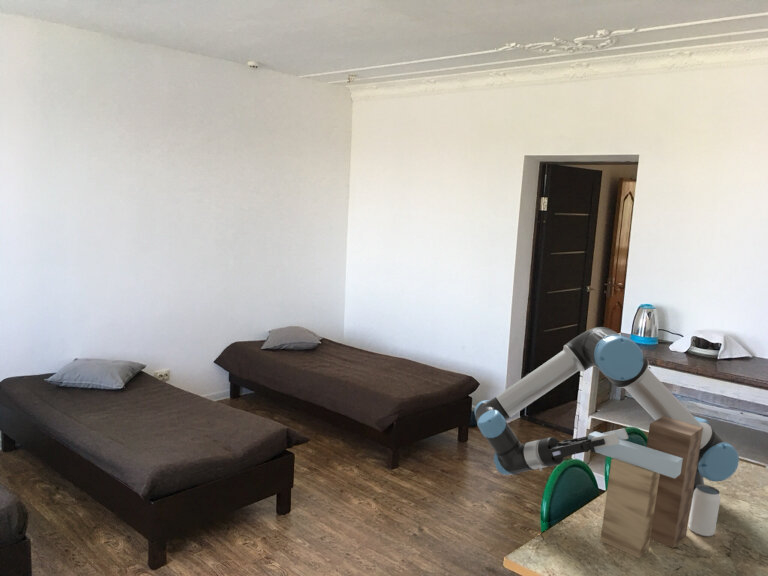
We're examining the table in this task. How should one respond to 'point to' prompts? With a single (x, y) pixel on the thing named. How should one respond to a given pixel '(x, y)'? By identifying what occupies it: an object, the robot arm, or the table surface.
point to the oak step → (629, 507)
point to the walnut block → (679, 490)
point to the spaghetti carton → (641, 456)
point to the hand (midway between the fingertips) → (621, 435)
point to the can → (704, 510)
